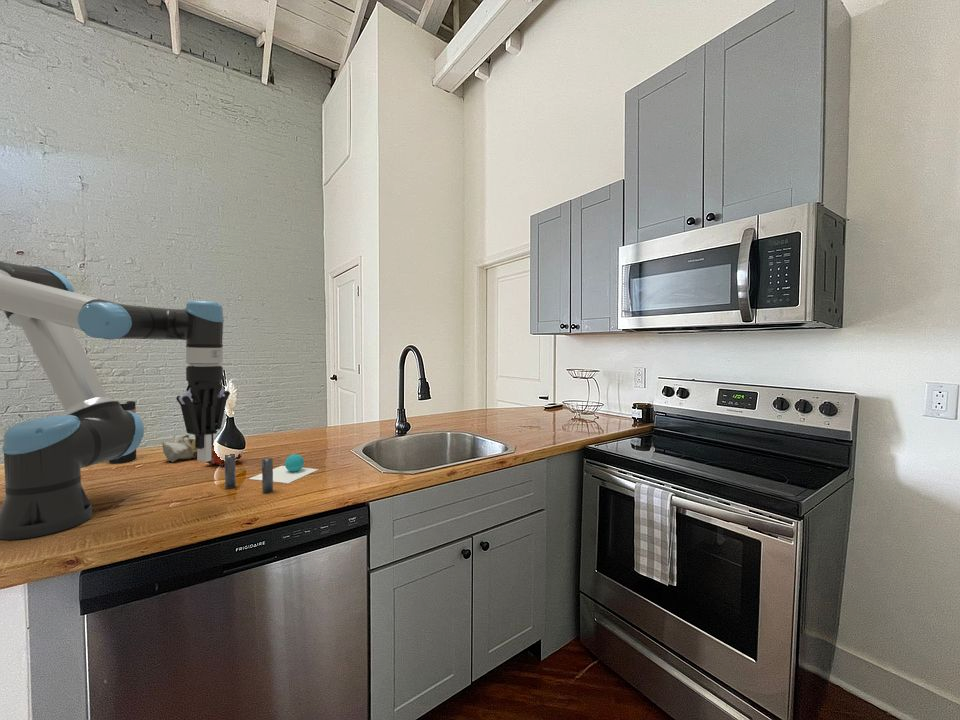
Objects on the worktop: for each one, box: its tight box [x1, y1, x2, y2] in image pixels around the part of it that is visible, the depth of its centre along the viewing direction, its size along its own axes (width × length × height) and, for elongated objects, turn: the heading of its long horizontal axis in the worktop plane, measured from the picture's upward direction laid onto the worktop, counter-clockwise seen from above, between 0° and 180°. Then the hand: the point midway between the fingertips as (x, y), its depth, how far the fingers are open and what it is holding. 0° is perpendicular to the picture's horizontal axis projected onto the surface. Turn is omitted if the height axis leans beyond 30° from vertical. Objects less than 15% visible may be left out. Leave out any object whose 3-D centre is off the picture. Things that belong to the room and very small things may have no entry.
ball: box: [284, 453, 305, 472], centre depth 133 cm, size 6×6×6 cm
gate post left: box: [224, 454, 237, 490], centre depth 119 cm, size 3×3×9 cm
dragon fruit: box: [205, 444, 242, 467], centre depth 141 cm, size 8×8×12 cm
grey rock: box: [161, 434, 197, 463], centre depth 148 cm, size 11×9×15 cm
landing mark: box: [248, 465, 319, 485], centre depth 131 cm, size 14×14×1 cm
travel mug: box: [108, 400, 137, 465], centre depth 144 cm, size 8×8×20 cm
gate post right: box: [261, 457, 274, 494], centre depth 115 cm, size 3×3×9 cm
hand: (204, 460), depth 104 cm, fingers closed
